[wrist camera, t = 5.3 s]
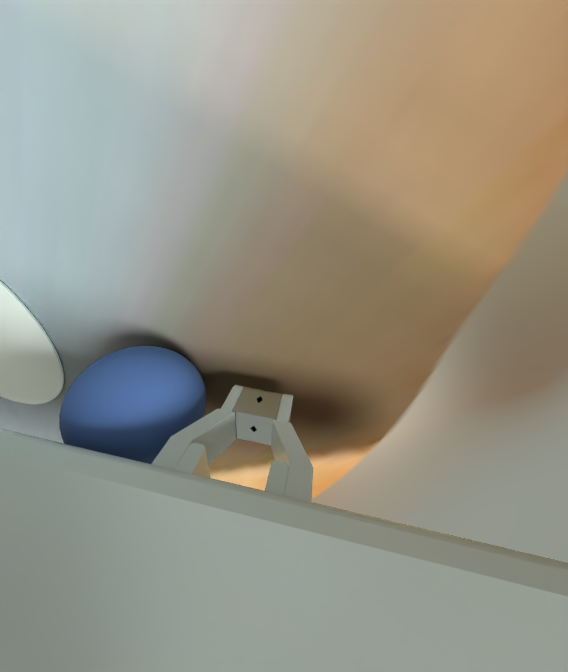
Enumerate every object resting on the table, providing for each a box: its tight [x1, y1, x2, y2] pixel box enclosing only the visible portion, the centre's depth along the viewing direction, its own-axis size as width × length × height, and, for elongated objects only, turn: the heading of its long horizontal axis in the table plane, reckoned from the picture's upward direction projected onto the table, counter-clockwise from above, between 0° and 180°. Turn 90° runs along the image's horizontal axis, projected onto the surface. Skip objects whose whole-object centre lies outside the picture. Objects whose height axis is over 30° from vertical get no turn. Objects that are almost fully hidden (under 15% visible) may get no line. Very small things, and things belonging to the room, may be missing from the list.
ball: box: [60, 346, 206, 464], centre depth 10 cm, size 6×6×6 cm
